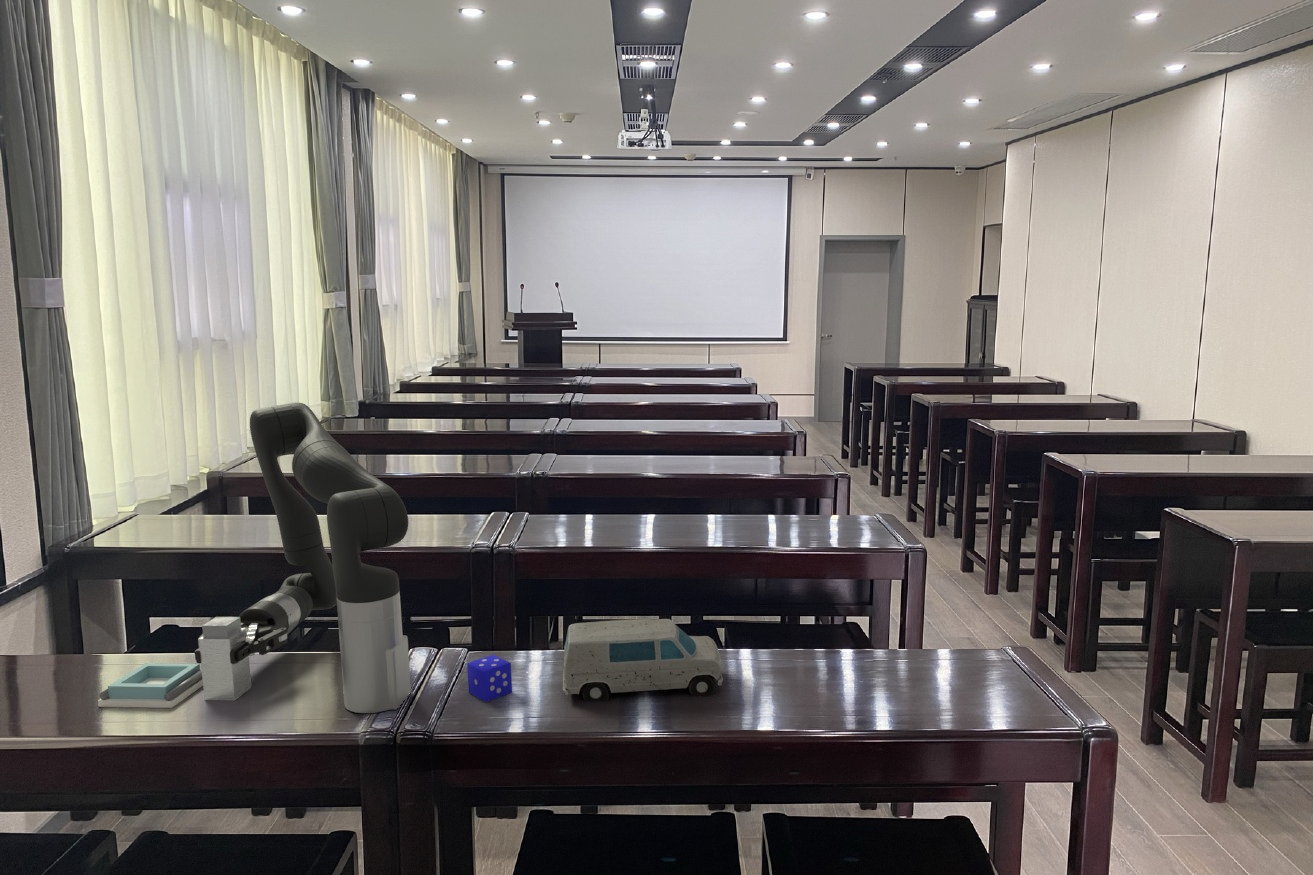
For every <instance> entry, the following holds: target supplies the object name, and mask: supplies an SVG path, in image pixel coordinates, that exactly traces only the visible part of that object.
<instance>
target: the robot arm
mask: <svg viewBox="0 0 1313 875" xmlns="http://www.w3.org/2000/svg"><path fill="white" fill-rule="evenodd" d="M249 429H250V430H249V431H250V435H251V436H250V437H251V441H252V444H253V448H254V452H255V455H256V457H257V461H258V463H259V464H258V465H259V467H260V470H261V474H262V477H263V480H264V483H265V486H266V488H267V489H266V490H267V492H268V494H269V496H270V501H271V503H272V506H273V509H274V512H275V516H276V518H277V524H278V529H279V532H280V533H279V534H280V537H281V538H280V539H281V542H282V548H283V553H284V557H285V561H286V562H287V563H288V564H290V565H293V566H298V567H302V568H304V569H306V570H307V571H308V572H306V573H296V574H293V575H290V576H288V577H287V578H285V580H283V582H282V584H281V586H280V588H279V589H278V590H277V591H276V592H275V593H272V594H270V595H268V596H266V597H264V598H262V599H261V600H259V601H258V602H256V603H254V604H252V605H251V606H250V607H248V608H246V609H244V610H242V612H241V613H240V614H239V615H238V617H240V620H241V628H246V634H247V639H246V640H245V643H241V644H239V645H238V646H237V647H235V648H234V649H232V650H231V651H230V662H231V664H237V663H238V662H239V661H241V660H243V659H244V658H246V657H247V656H249V657H252V656H254V655H255V654H256V653H258V655H259V656H260V655H261V656H264V655H267V654H268V653H271V652H272V651H275V650H276V649H278V648H281V647H283V646H284V645H286V644H288V635H289V634H290V633H291V632H292V631H293V630H294V629H295V627H296V626H298V625H300V624H301V623H302V622H303V621H305V620H306V619H307V618H308V616H310V614H311V612H312V611H316V610H317V611H319V610H329V609H333V608H334V607H335V606H336V609H337V620H338V621H337V622H338V623H337V624H338V635H339V638H338V639H339V650H340V663H341V666H340V667H341V676H342V677H341V678H342V693H343V702H344V704H343V705H344V708H346V710H348V711H350V712H354V713H359V714H374V713H380V712H384V711H389V710H398V709H400V707H401V706H402V705H401V704H404V702H405V701H406V700H407V699H408V697H409V696H410V695H409V693H411V694H412V686H411V670H410V655H409V640H408V639H409V638H408V636H407V635H403V623H402V608H401V607H402V606H401V595H400V594H401V592H400V578H399V575H398V573H397V572H396V571H395V570H392V569H390V568H387V567H382V566H377V565H376V566H375V565H369V564H367V563H364V562H362V560H361V556H360V553H362V552H367V551H372V550H378V549H383V548H388V547H391V546H394V545H397V544H399V543H400V542H401V541H403V539H404V538H405V537H406V535H407V532H408V530H409V516H408V511H407V508H406V506H405V504H404V501H403V500H402V498H401V497H400V495H399V494H398V493H397V491H395V490H394V488H392V487H391V486H390V485H388V484H387V483H385V482H384V481H382V480H381V479H380V478H377V477H376V476H374V475H373V474H371V473H370V472H369V471H368V470H367V469H366V468H364V467H363V466H362V465H361V464H360V463H359V462H358V461H357V460H356V459H355V458H354V457H353V456H352V455H351V454H350V452H348V450H346V449H345V447H344V446H343V445H341V444H340V443H339V442H337V441H336V439H334V437H332V435H331V434H330V433H329V432H328V431H327V430H326V428H325V427H324V426H323V424H322V422H321V421H320V420H319V418H318V417H317V415H316V414H315V413H314V411H313V410H312V409H311V408H310V407H309V406H308V405H307V404H305V403H304V402H289V403H283V404H278V405H272V406H267V407H262V408H258V409H255V410H253V411H252V412H251V414H250V417H249ZM292 454H293V456H292V461H291V469H292V472H293V476H294V478H295V479H296V481H297V482H298V484H299V485H300V486H301V487H302V488H303V490H304V491H305V492H306V493H307V494H308V495H310V497H312V498H313V499H314V500H317V501H319V502H321V503H324V504H326V505H327V508H326V522H327V523H326V524H327V533H328V539H329V540H328V541H329V546H330V552H331V553H330V554H331V560H330V557H329V556H328V554H327V551H326V550H325V546H324V541H323V540H324V539H323V535H322V530H321V525H320V520H319V516H318V515H317V512H316V511H315V508H314V507H313V506H312V505H311V503H310V502H309V501H308V500H307V499H306V498H305V497H304V496H303V495H302V494H301V493H300V492H299V491H298V490H297V489H296V488H295V487H294V486H293V484H291V483H290V482H289V480H288V479H287V477H286V476H285V474H284V473H283V471H282V469H281V467H280V464H279V460H278V458H279V457H282V456H283V457H284V456H289V455H292ZM202 636H203V633H202V634H201V635H199V637H198V638H197V644H198V648H197V649H196V650H194V658H195V662H196V664H201V656H200V650H199V640H198V639H199V638H201V637H202ZM408 695H409V696H408ZM407 696H408V697H407ZM406 698H407V699H406ZM405 699H406V700H405ZM404 700H405V701H404ZM403 701H404V702H403ZM400 705H401V706H400ZM397 708H398V709H397Z"/></svg>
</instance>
